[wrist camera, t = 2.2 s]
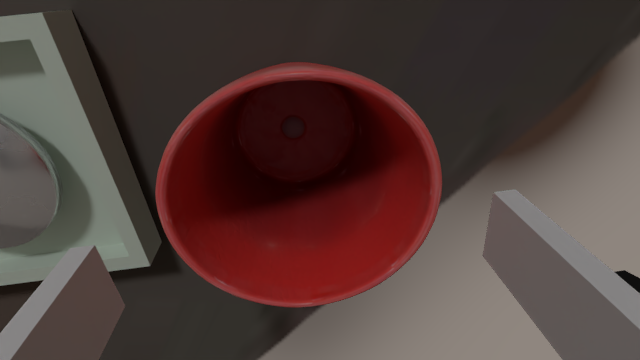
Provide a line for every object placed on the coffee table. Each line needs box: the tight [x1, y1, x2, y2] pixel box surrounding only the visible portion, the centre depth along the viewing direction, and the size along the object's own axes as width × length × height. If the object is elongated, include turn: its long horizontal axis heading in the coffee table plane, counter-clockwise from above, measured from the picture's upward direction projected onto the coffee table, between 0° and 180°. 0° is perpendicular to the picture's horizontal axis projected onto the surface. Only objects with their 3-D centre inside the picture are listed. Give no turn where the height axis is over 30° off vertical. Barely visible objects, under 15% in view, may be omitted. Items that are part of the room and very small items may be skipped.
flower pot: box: [155, 62, 442, 307], centre depth 18 cm, size 11×11×10 cm
